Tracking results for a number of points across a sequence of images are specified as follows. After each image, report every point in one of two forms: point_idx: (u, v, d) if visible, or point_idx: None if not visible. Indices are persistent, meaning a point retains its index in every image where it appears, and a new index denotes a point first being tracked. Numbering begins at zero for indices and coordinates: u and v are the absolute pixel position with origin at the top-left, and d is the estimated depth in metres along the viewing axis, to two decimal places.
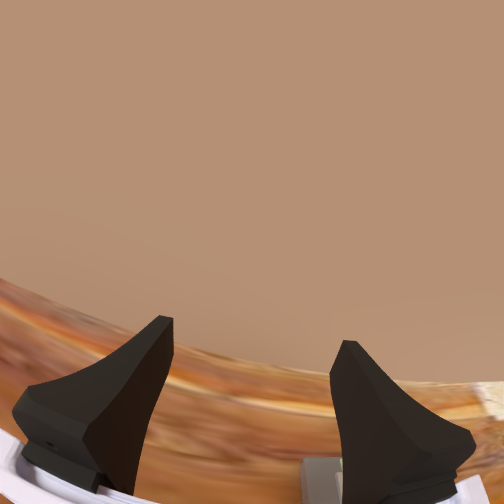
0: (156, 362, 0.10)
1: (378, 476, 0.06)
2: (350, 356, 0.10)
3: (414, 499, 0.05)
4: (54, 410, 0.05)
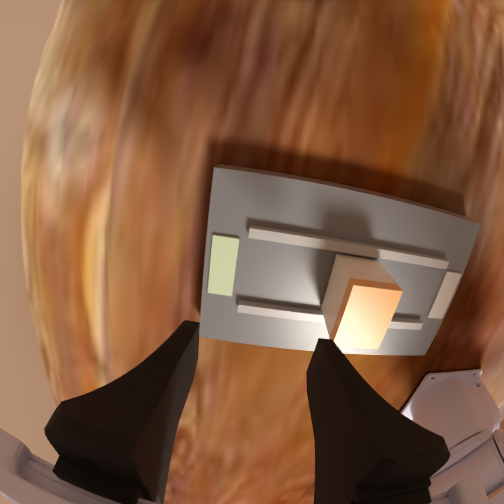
0: (186, 368, 0.10)
1: (345, 480, 0.06)
2: (324, 354, 0.10)
3: None
4: (96, 427, 0.05)
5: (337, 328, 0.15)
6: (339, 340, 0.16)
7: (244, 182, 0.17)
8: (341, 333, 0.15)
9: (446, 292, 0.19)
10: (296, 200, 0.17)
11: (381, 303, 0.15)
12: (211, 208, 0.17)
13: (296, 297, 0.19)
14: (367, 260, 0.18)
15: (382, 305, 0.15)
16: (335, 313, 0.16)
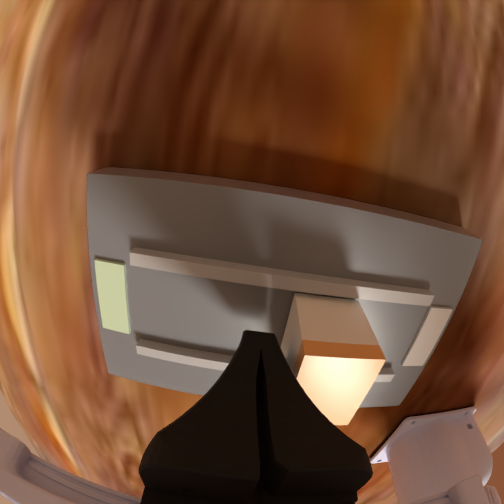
0: None
1: (258, 481, 0.06)
2: (259, 348, 0.10)
3: None
4: (212, 456, 0.05)
5: None
6: None
7: (121, 190, 0.11)
8: None
9: (429, 334, 0.14)
10: (190, 212, 0.12)
11: (351, 376, 0.09)
12: (89, 226, 0.12)
13: (209, 341, 0.14)
14: (340, 301, 0.13)
15: (353, 378, 0.09)
16: None
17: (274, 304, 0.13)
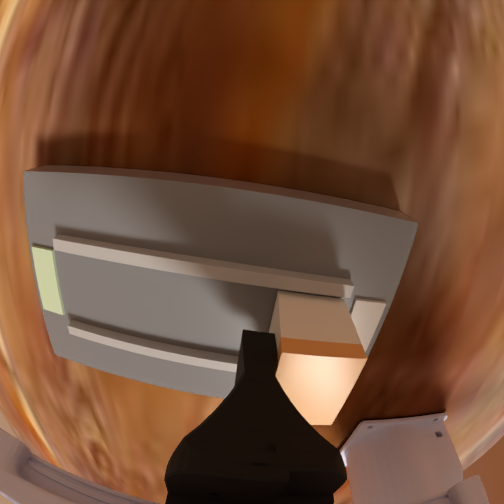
0: None
1: None
2: (241, 346, 0.10)
3: None
4: (243, 459, 0.05)
5: None
6: None
7: (47, 184, 0.11)
8: None
9: (360, 330, 0.13)
10: (96, 201, 0.12)
11: (331, 375, 0.09)
12: (27, 216, 0.12)
13: (127, 324, 0.14)
14: (325, 299, 0.13)
15: (333, 377, 0.09)
16: None
17: (177, 288, 0.13)
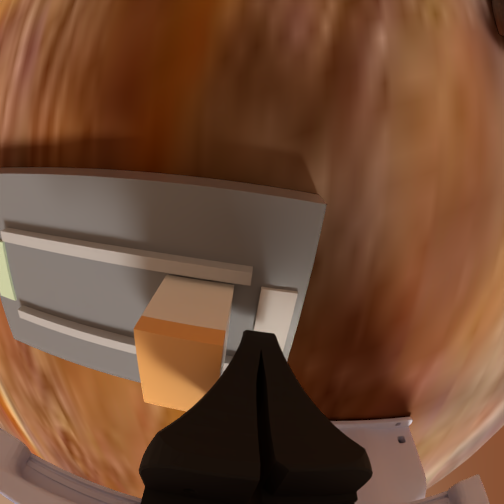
0: None
1: (258, 481, 0.06)
2: None
3: None
4: (213, 456, 0.05)
5: None
6: (149, 396, 0.10)
7: None
8: (148, 389, 0.10)
9: (272, 322, 0.13)
10: (30, 197, 0.12)
11: (190, 359, 0.09)
12: None
13: (62, 308, 0.14)
14: (212, 284, 0.12)
15: (193, 362, 0.09)
16: None
17: (95, 274, 0.13)
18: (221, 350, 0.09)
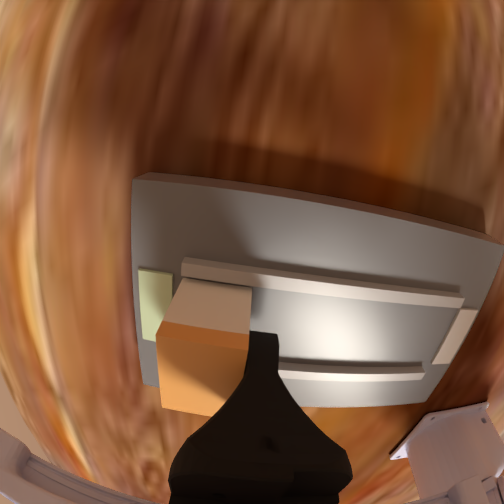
0: None
1: None
2: None
3: None
4: (246, 460, 0.05)
5: None
6: (168, 401, 0.10)
7: (172, 198, 0.11)
8: (167, 394, 0.10)
9: (457, 334, 0.14)
10: (247, 222, 0.12)
11: (214, 364, 0.09)
12: (133, 234, 0.12)
13: None
14: (230, 287, 0.12)
15: (216, 367, 0.09)
16: None
17: (323, 310, 0.13)
18: (246, 354, 0.09)
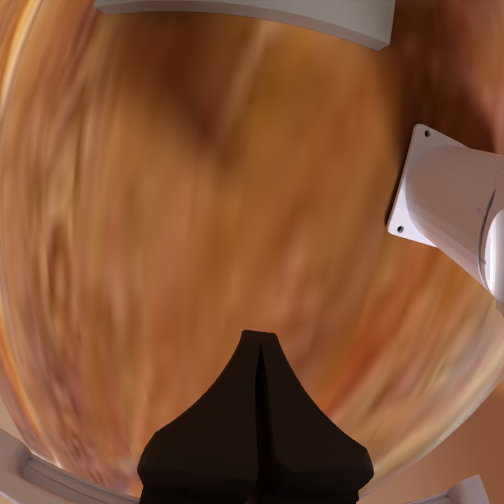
0: None
1: (259, 481, 0.06)
2: (260, 348, 0.10)
3: None
4: (211, 455, 0.05)
5: None
6: None
7: None
8: None
9: None
10: None
11: None
12: None
13: None
14: None
15: None
16: None
17: None
18: None
